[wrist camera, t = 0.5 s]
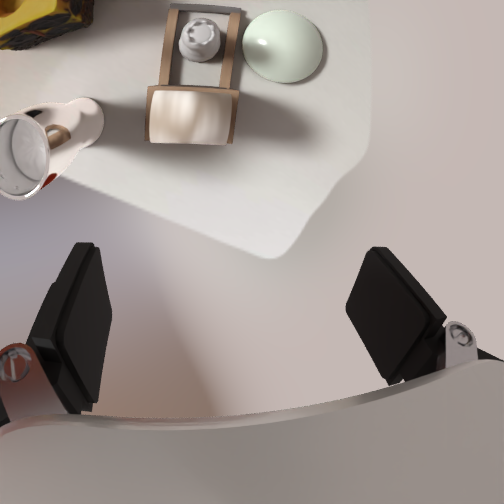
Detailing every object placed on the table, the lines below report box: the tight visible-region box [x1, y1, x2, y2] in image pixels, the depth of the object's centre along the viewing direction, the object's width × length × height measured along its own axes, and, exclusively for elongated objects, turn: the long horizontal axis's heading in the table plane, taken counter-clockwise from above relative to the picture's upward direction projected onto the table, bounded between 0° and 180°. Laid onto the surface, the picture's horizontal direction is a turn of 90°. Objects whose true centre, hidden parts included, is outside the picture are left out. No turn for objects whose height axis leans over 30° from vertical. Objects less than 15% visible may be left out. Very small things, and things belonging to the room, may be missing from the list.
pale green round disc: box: [242, 10, 323, 83], centre depth 26 cm, size 9×9×1 cm
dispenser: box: [145, 4, 241, 146], centre depth 22 cm, size 15×8×11 cm, turn 172°
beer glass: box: [0, 97, 104, 200], centre depth 21 cm, size 7×7×15 cm
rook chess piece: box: [179, 18, 220, 62], centre depth 22 cm, size 4×4×8 cm
